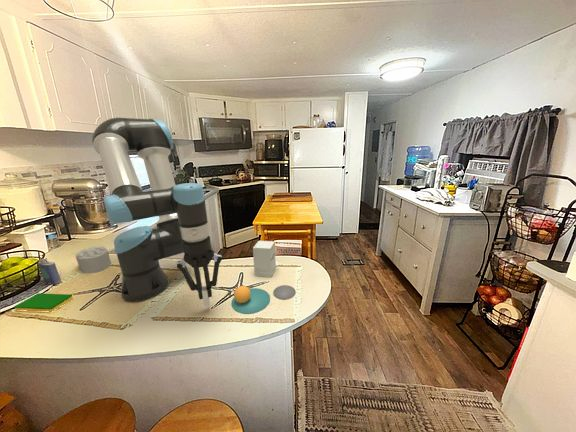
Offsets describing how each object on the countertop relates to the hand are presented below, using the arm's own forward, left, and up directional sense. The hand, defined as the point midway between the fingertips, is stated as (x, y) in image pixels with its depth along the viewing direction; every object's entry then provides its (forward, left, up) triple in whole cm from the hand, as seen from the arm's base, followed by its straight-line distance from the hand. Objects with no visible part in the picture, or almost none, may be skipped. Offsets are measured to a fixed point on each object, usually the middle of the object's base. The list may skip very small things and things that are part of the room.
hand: (207, 305), depth 72 cm
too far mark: (+26, 0, -2) cm, 26 cm away
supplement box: (+23, +16, -2) cm, 28 cm away
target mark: (+14, 0, -2) cm, 14 cm away
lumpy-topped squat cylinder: (-48, +49, -2) cm, 69 cm away
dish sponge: (-53, +24, -3) cm, 58 cm away
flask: (-60, +41, -2) cm, 73 cm away
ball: (+11, 0, +1) cm, 11 cm away
